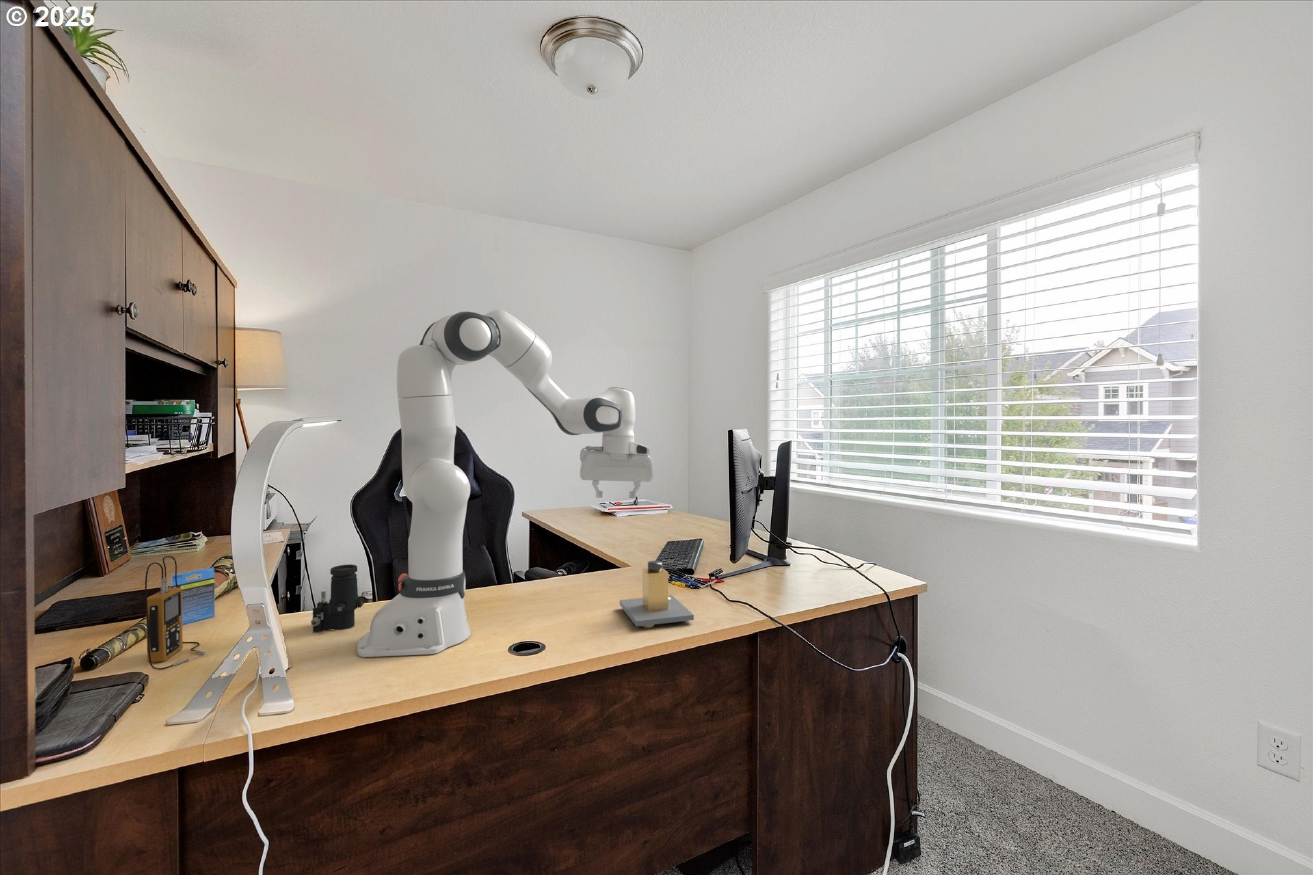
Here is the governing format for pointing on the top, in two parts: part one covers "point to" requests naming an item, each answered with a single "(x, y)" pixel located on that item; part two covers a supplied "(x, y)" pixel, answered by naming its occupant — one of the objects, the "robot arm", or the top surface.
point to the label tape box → (196, 594)
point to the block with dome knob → (655, 586)
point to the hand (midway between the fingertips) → (615, 497)
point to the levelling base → (655, 612)
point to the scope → (338, 601)
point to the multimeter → (165, 621)
